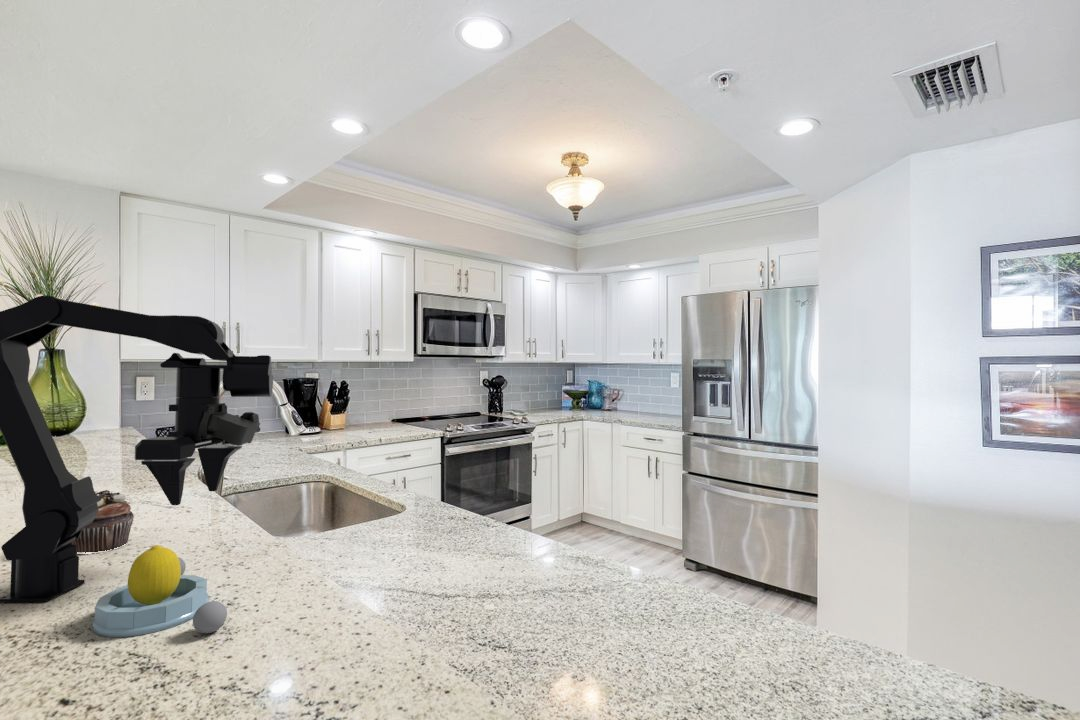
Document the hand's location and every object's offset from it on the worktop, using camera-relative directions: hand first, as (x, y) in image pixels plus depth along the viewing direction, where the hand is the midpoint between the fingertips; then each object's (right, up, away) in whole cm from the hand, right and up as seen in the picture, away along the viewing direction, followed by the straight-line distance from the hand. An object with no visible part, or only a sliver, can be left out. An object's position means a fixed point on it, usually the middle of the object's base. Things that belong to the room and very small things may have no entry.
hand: (195, 497), depth 80 cm
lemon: (+4, -11, -13) cm, 17 cm away
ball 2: (+14, -12, -18) cm, 25 cm away
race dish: (+4, -12, -13) cm, 18 cm away
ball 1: (-2, -12, -2) cm, 12 cm away
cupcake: (-26, -13, +12) cm, 31 cm away
